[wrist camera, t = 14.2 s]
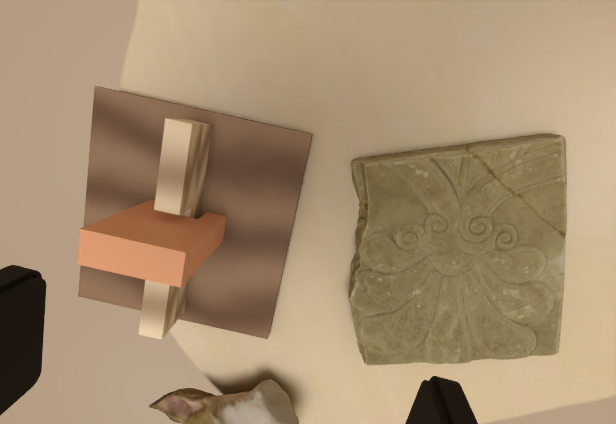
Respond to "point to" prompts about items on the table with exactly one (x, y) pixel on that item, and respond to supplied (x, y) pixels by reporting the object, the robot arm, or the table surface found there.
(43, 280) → the robot arm
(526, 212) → the decorative tile
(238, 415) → the ceramic sculpture
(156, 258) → the notched plate
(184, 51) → the table surface
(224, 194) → the slotted stand
